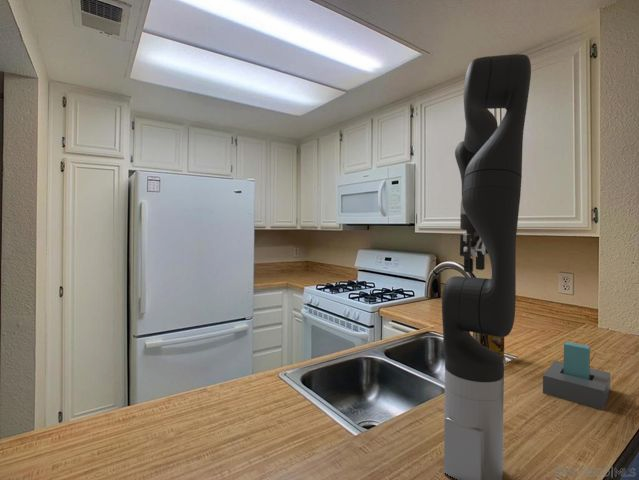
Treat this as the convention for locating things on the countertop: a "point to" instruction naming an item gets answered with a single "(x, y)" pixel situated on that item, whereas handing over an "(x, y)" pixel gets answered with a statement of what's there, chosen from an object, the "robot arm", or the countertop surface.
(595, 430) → the countertop surface
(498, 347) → the condiment
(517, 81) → the robot arm
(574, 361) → the teal rectangular block
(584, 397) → the gray slotted block
